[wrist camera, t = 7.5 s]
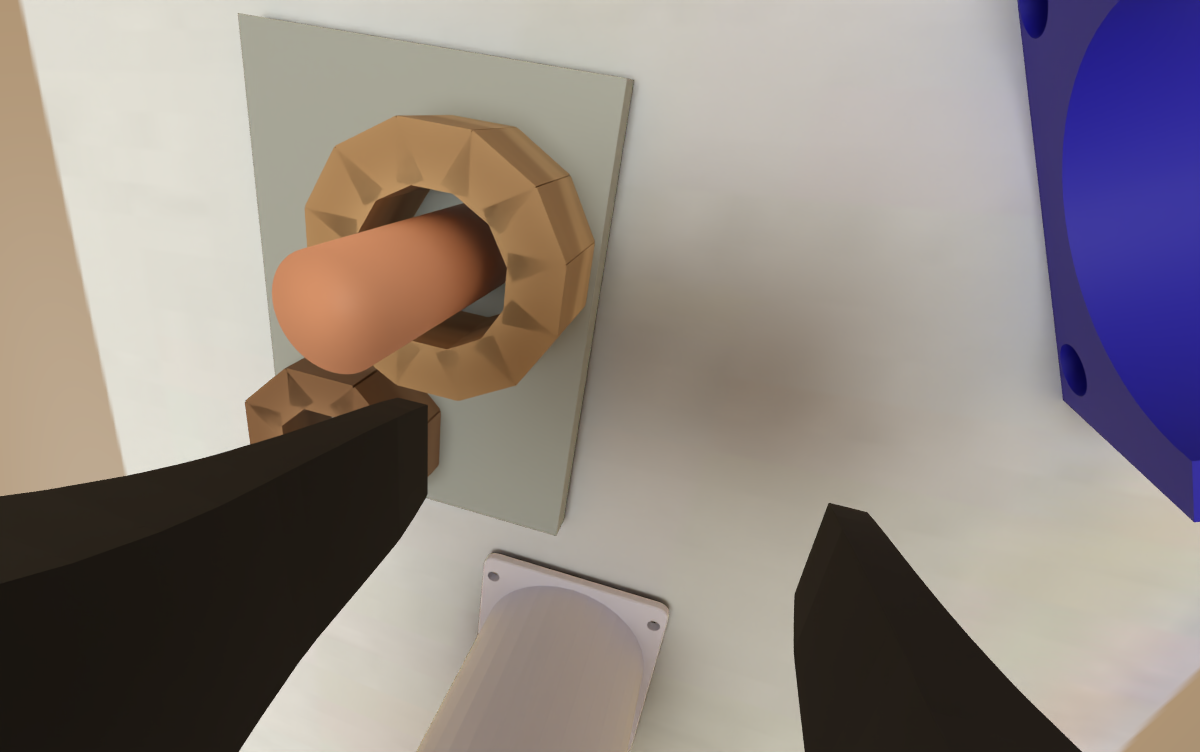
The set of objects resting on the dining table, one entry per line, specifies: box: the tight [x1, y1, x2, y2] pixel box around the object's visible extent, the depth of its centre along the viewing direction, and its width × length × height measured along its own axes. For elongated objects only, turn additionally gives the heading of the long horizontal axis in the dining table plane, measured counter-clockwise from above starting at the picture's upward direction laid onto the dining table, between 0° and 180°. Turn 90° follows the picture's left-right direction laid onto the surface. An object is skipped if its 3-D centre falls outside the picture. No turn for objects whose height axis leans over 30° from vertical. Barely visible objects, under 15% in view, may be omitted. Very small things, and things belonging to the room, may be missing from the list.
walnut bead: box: [245, 358, 441, 477], centre depth 21 cm, size 6×6×3 cm
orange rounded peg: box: [272, 203, 507, 374], centre depth 16 cm, size 3×3×7 cm
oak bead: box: [304, 115, 595, 401], centre depth 17 cm, size 8×8×3 cm
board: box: [238, 13, 634, 536], centre depth 21 cm, size 16×12×1 cm
